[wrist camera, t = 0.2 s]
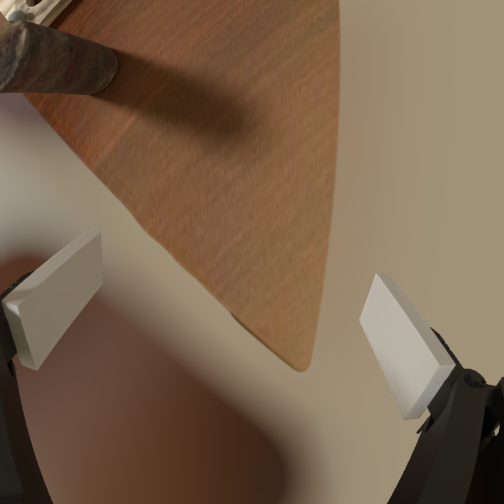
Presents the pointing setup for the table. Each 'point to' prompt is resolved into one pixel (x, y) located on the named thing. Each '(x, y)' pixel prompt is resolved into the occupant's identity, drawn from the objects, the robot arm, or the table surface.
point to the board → (35, 10)
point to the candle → (52, 61)
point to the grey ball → (16, 16)
